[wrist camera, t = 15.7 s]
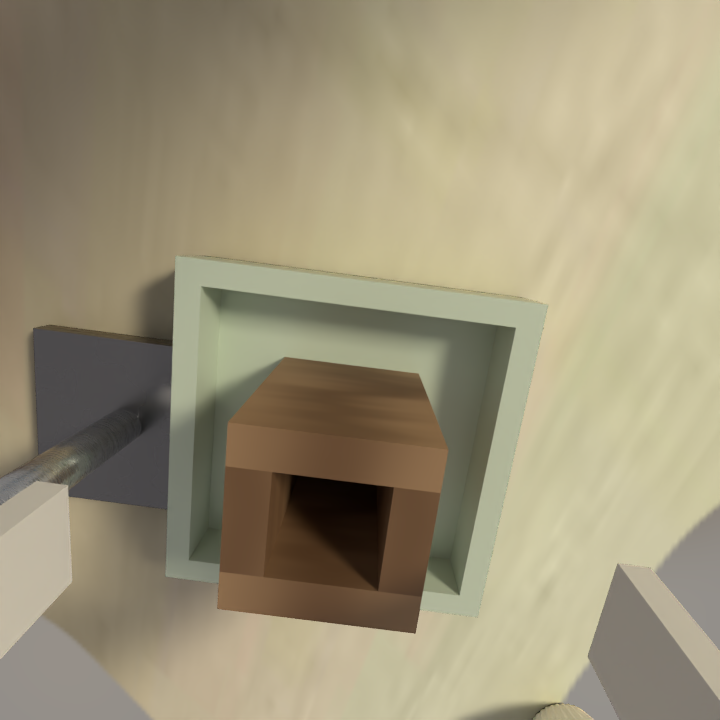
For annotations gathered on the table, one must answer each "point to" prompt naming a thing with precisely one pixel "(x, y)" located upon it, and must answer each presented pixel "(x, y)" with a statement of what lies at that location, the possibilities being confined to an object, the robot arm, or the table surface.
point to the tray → (359, 348)
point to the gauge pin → (100, 417)
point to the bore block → (331, 496)
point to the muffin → (562, 713)
